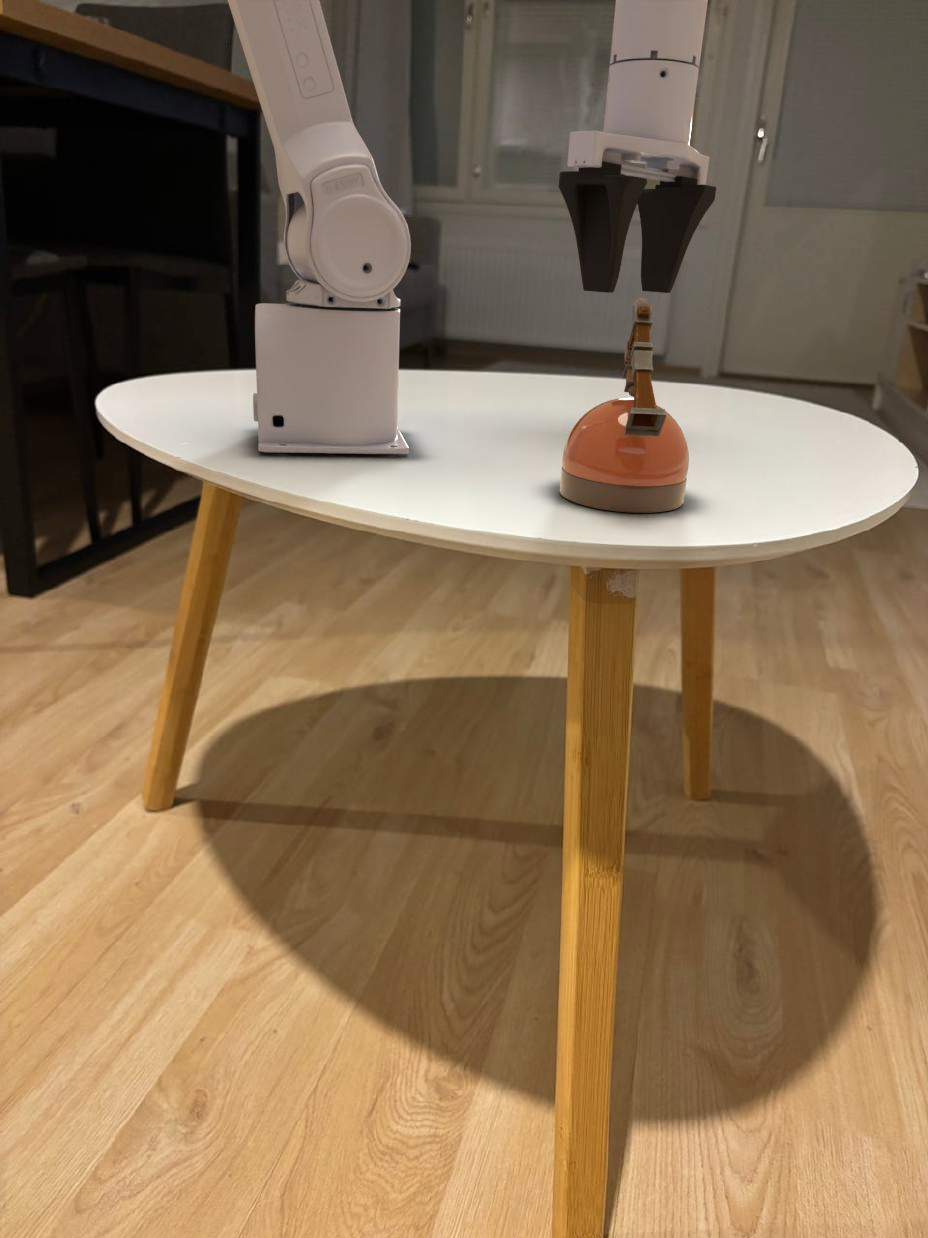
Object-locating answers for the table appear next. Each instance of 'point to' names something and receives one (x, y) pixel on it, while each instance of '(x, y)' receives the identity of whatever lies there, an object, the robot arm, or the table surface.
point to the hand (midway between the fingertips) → (628, 291)
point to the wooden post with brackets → (641, 375)
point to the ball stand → (623, 463)
